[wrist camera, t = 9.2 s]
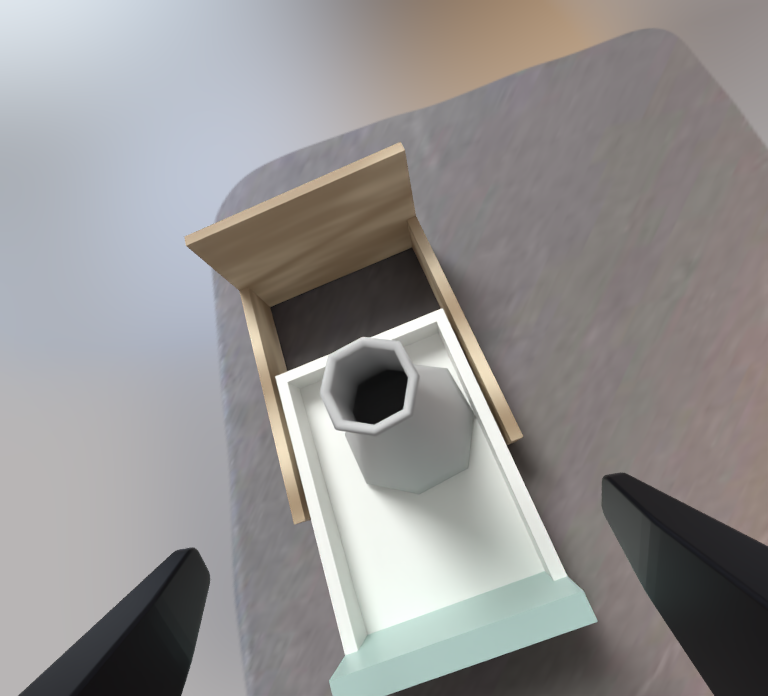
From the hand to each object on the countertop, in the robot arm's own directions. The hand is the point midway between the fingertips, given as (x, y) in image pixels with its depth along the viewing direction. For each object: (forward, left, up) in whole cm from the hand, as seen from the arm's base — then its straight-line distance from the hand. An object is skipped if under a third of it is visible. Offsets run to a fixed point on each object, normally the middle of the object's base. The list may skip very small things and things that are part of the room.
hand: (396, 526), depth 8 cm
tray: (+2, +1, -13) cm, 14 cm away
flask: (+4, 0, -12) cm, 13 cm away
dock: (+8, +1, -13) cm, 16 cm away
